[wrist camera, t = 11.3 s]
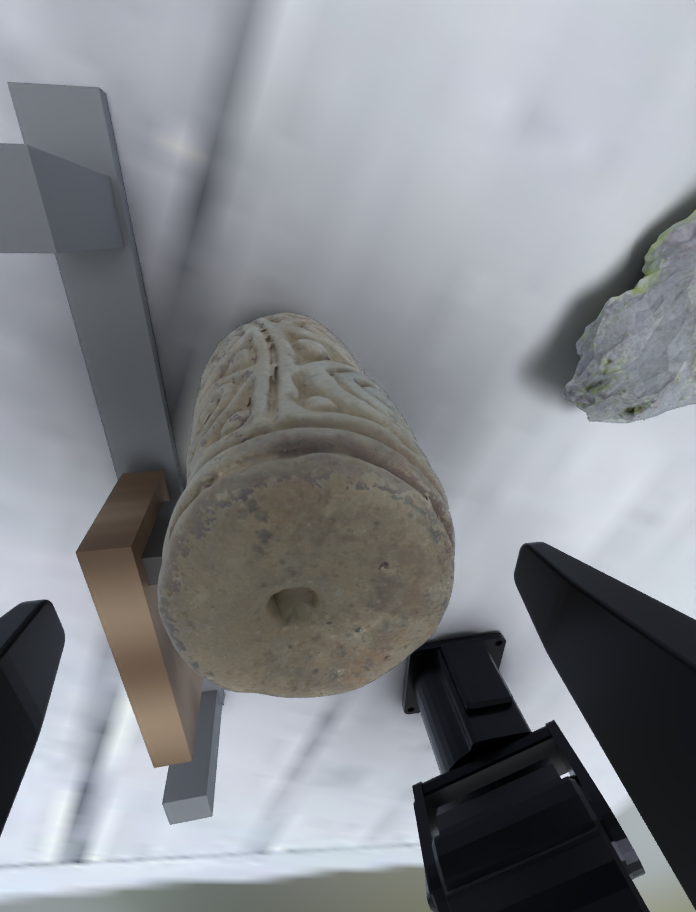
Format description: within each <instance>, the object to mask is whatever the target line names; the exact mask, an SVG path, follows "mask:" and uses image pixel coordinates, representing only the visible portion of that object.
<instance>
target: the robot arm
mask: <svg viewBox="0 0 696 912" xmlns="http://www.w3.org/2000/svg"><path fill="white" fill-rule="evenodd" d="M514 580H515V584H516V587H517V589H518V591H519V593H520V595H521V598H522V600H523V602H524V604H525V606H526V609H527V611H528V613H529V615H530V617H531V620H532V622H533V624H534V626H535V628H536V631H537V633H538V635H539V637H540V639H541V641H542V643H543V646H544V648H545V650H546V652H547V654H548V655H549V657H550V659H551V661H552V663H553V664H554V666H555V668H556V670H557V671H558V673H559V675H560V676H561V678H562V680H563V682H564V683H565V685H566V687H567V689H568V690H569V692H570V694H571V695H572V697H573V699H574V701H575V702H576V704H577V706H578V708H579V709H580V711H581V713H582V715H583V716H584V718H585V720H586V721H587V723H588V725H589V727H590V728H591V730H592V732H593V734H594V735H595V737H596V739H597V740H598V742H599V744H600V746H601V747H602V749H603V751H604V753H605V754H606V756H607V758H608V759H609V761H610V763H611V765H612V766H613V768H614V770H615V772H616V773H617V775H618V777H619V778H620V780H621V782H622V784H623V785H624V787H625V789H626V791H627V792H628V794H629V796H630V797H631V799H632V801H633V803H634V804H635V806H636V808H637V810H638V811H639V813H640V815H641V816H642V818H643V820H644V822H645V823H646V825H647V827H648V829H649V830H650V832H651V834H652V836H653V837H654V839H655V841H656V842H657V844H658V846H659V847H660V849H661V851H662V853H663V855H664V856H665V858H666V860H667V861H668V863H669V865H670V866H671V868H672V870H673V872H674V874H675V875H676V877H677V879H678V880H679V882H680V884H681V885H682V887H683V889H684V891H685V892H686V894H687V896H688V898H689V899H690V901H691V903H692V905H693V906H694V908H695V910H696V620H695V619H693V618H691V617H689V616H687V615H685V614H683V613H681V612H679V611H677V610H675V609H673V608H671V607H669V606H667V605H665V604H664V603H662V602H660V601H658V600H656V599H654V598H652V597H650V596H648V595H646V594H644V593H642V592H640V591H638V590H636V589H634V588H632V587H630V586H628V585H626V584H624V583H622V582H620V581H618V580H617V579H615V578H613V577H611V576H609V575H607V574H605V573H603V572H601V571H599V570H597V569H595V568H593V567H591V566H589V565H587V564H585V563H583V562H581V561H579V560H577V559H575V558H573V557H571V556H570V555H568V554H566V553H564V552H562V551H560V550H558V549H556V548H554V547H552V546H550V545H548V544H546V543H544V542H532V543H525V544H523V545H522V546H521V548H520V551H519V555H518V559H517V563H516V567H515V571H514ZM64 643H65V633H64V629H63V627H62V625H61V622H60V620H59V618H58V615H57V613H56V611H55V608H54V606H53V604H52V603H51V602H50V601H49V600H35V601H26V602H22V603H20V604H18V605H17V606H15V607H14V608H13V609H11V610H10V611H9V612H7V613H6V614H5V615H3V616H2V617H1V618H0V836H1V834H2V831H3V828H4V826H5V823H6V821H7V818H8V816H9V813H10V810H11V808H12V805H13V803H14V800H15V797H16V795H17V792H18V790H19V787H20V784H21V782H22V779H23V777H24V774H25V772H26V769H27V766H28V764H29V761H30V759H31V756H32V753H33V751H34V748H35V745H36V743H37V740H38V737H39V734H40V731H41V728H42V724H43V721H44V717H45V714H46V710H47V706H48V703H49V699H50V695H51V692H52V688H53V684H54V681H55V677H56V673H57V670H58V666H59V662H60V659H61V655H62V651H63V648H64ZM505 643H506V640H505V638H504V636H503V635H502V634H501V633H493V634H486V635H480V636H473V637H466V638H460V639H453V640H446V641H440V642H433V643H426V644H423V645H421V646H420V647H419V648H418V649H416V650H415V651H414V652H413V653H411V654H410V655H409V656H408V657H407V667H406V676H405V686H404V695H403V704H402V706H403V709H404V713H406V714H414V713H419V712H421V715H422V718H423V721H424V725H425V728H426V731H427V734H428V737H429V740H430V743H431V746H432V749H433V752H434V755H435V758H436V761H437V764H438V767H439V770H440V773H441V775H439V776H437V777H435V778H432V779H430V780H428V781H426V782H424V783H422V782H419V783H417V784H415V785H413V786H412V787H413V793H414V799H415V802H414V810H415V816H416V821H417V827H418V833H419V839H420V844H421V850H422V856H423V862H424V868H425V879H426V894H427V900H428V904H429V906H430V909H431V910H432V911H433V912H650V911H649V910H648V908H647V906H646V904H645V903H644V901H643V899H642V897H641V896H640V894H639V892H638V890H637V888H636V887H635V885H634V883H633V881H632V879H634V878H636V877H639V876H641V875H643V874H645V871H644V868H643V866H642V864H641V862H640V860H639V858H638V856H637V855H636V853H635V851H634V849H633V847H632V845H631V844H630V842H629V840H628V838H627V836H626V835H625V833H624V831H623V830H622V828H621V826H620V824H619V823H618V821H617V819H616V818H615V816H614V814H613V812H612V811H611V809H610V807H609V806H608V804H607V803H606V801H605V799H604V798H603V796H602V794H601V793H600V791H599V790H598V788H597V786H596V785H595V783H594V782H593V780H592V779H591V777H590V776H589V774H588V772H587V771H586V769H585V768H584V766H583V765H582V763H581V761H580V760H579V758H578V757H577V755H576V754H575V752H574V750H573V749H572V747H571V746H570V744H569V743H568V741H567V739H566V738H565V736H564V735H563V733H562V732H561V730H560V728H559V727H558V725H557V724H556V722H555V721H554V720H553V721H551V722H548V723H546V724H545V725H546V726H545V727H542V728H540V729H538V730H536V731H534V732H531V730H530V728H529V726H528V724H527V722H526V721H525V719H524V717H523V715H522V713H521V711H520V710H519V708H518V706H517V704H516V702H515V700H514V698H513V696H512V694H511V692H510V690H509V688H508V687H507V685H506V683H505V681H504V679H503V677H502V676H501V674H500V672H499V667H500V663H501V659H502V655H503V651H504V647H505ZM567 772H569V774H570V777H568V776H567V777H565V778H563V779H561V777H560V776H561V775H563V774H565V773H567Z"/></svg>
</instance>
